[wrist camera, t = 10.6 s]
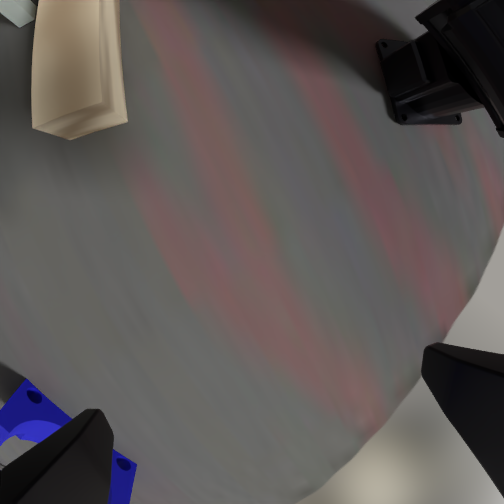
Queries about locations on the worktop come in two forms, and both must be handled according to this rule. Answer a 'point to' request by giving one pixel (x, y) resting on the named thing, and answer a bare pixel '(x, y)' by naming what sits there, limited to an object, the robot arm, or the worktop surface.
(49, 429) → the cable clip
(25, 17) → the small white table
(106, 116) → the batten
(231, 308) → the worktop surface
